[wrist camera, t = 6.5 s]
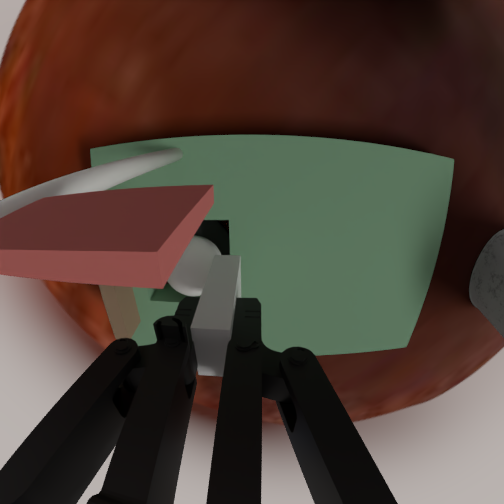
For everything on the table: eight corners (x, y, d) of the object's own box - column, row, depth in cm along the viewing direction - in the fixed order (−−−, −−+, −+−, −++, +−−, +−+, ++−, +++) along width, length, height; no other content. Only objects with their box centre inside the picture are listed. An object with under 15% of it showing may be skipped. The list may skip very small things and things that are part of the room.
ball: (154, 250, 15) (223, 246, 16) (165, 229, 19) (221, 226, 19) (163, 309, 17) (226, 306, 17) (171, 280, 20) (223, 277, 21)
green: (108, 145, 17) (-110, 221, 2) (435, 154, 16) (627, 235, 1) (139, 328, 23) (67, 487, 8) (396, 329, 23) (466, 479, 8)
